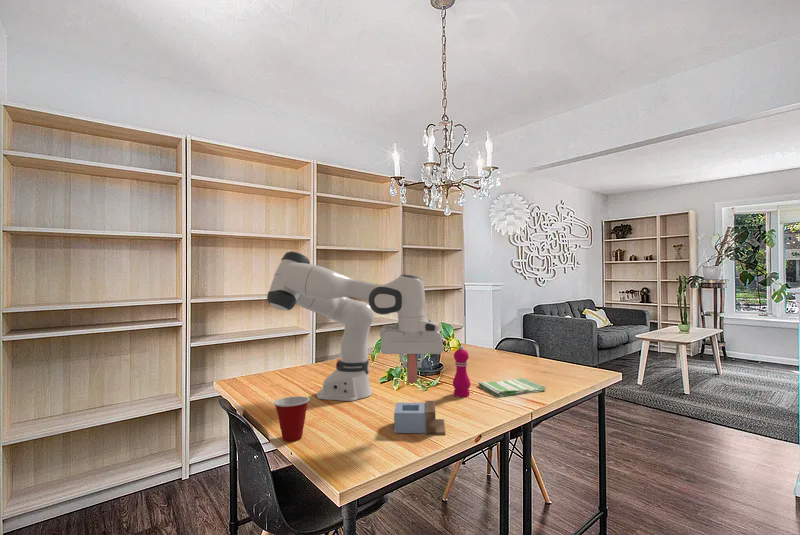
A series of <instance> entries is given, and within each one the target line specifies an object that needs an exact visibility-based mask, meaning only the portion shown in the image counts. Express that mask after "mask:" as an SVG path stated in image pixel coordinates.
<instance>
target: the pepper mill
mask: <svg viewBox="0 0 800 535" xmlns="http://www.w3.org/2000/svg"><path fill="white" fill-rule="evenodd" d="M453 358H454V360H455V361H454V363H455V364H454V365H455V367H456V370H455V371H456V373H455V375H454V377H453V380H452V386H453V388H454V390H453V395H454V396H455V397H458V398H467V397H469V396H470V390H469V389H470V388H471V386H472V384H471V380H470V377H469V375H468V372H467V366H468V359H469V358H470V357H469V353H468V351H467V350H465V349H464V346H463V345H459V346H458V349H457V350H455V351H454V353H453Z"/></svg>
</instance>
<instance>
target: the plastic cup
mask: <svg viewBox="0 0 800 535" xmlns="http://www.w3.org/2000/svg"><path fill="white" fill-rule="evenodd" d="M309 402H310V398H309V397H308V396H301V395H300V396H287V397H282V398H279V399H276V400H274V401H273V405H274V407H275V409H276V412H277V418H278V423H279V428H280V431H281V438H282V440H283V441H284V442H291V443H292V442H296V441H300V440H301V439H302V437H303V434H304V428H305V427H304V426H305V422H306V413H307V412H306V411H307V408H308V403H309Z"/></svg>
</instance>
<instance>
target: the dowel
mask: <svg viewBox="0 0 800 535" xmlns="http://www.w3.org/2000/svg"><path fill="white" fill-rule="evenodd" d="M406 361H407V368H406V370H407V371H406V372H407V373H406V378H407V380H406V382H407V383H409V384H416V383H418V368H417V361H418V354H406Z"/></svg>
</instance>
